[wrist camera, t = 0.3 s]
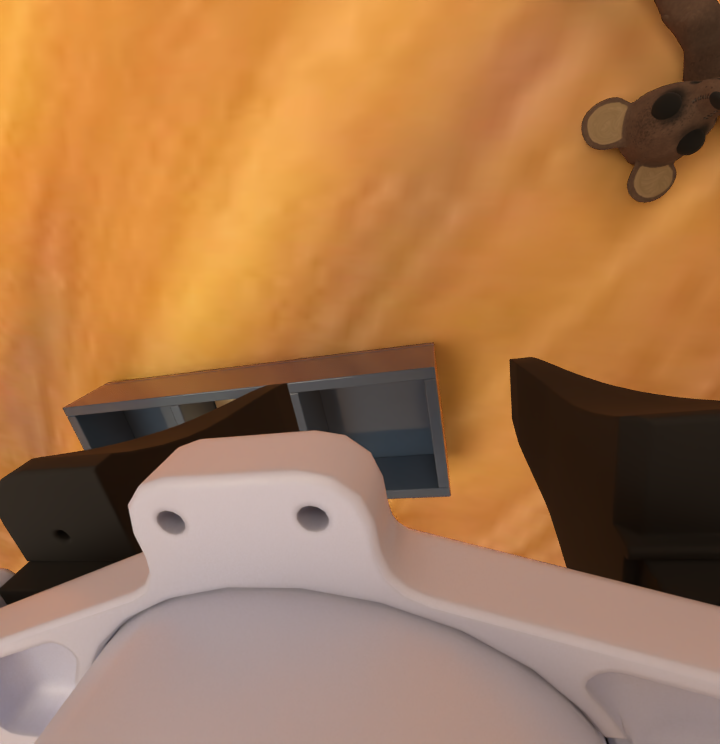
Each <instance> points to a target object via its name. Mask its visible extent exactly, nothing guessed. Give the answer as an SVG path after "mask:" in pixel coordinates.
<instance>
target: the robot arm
mask: <svg viewBox="0 0 720 744" xmlns="http://www.w3.org/2000/svg"><path fill="white" fill-rule="evenodd" d="M510 382H511V404H512V420H513V424H514V428H515V432H516V435H517V439H518V442H519V445H520V447H521V450H522V452H523V454H524V456H525V459H526V461H527V463H528V465H529V467H530V470H531V472H532V474H533V476H534V478H535V480H536V483H537V485H538V487H539V489H540V491H541V493H542V496H543V498H544V500H545V502H546V505H547V508H548V510H549V513H550V515H551V518H552V522H553V525H554V528H555V531H556V534H557V537H558V540H559V544H560V547H561V550H562V553H563V557H564V560H565V563H566V567H567V568H565V567H561V566H557V565H553V564H549V563H545V562H541V561H537V560H533V559H529V558H525V557H521V556H517V555H513V554H509V553H505V552H501V551H497V550H493V549H489V548H485V547H481V546H477V545H473V544H469V543H465V542H461V541H457V540H453V539H449V538H445V537H441V536H437V535H433V534H429V533H425V532H421V531H417V530H413V529H410V528H407V527H405V526H404V525H402V524H400V523H399V522H398V521H397V520H396V519H395V518H394V516H393V515H392V512H391V510H390V507H389V504H388V500H387V494H386V489H385V484H384V479H383V475H382V473H381V471H380V469H379V468H378V466H377V464H376V462H375V460H374V458H373V456H372V454H371V452H369V451H368V450H367V449H365V448H364V447H362V446H361V445H359V444H358V443H356V442H355V441H353V440H352V439H350V438H349V437H348V436H346V435H342V434H335V433H329V432H323V431H316V430H313V431H300V430H299V427H298V423H297V419H296V415H295V412H294V408H293V404H292V400H291V397H290V393H289V389H288V385H287V383H281V384H272V385H267V386H264V387H261V388H258V389H256V390H254V391H252V392H249V393H247V394H245V395H243V396H241V397H239V398H237V399H235V400H233V401H231V402H229V403H227V404H225V405H223V406H221V407H219V408H216V409H214V410H212V411H210V412H208V413H206V414H203V415H201V416H199V417H197V418H195V419H192V420H190V421H187V422H185V423H182V424H179V425H177V426H174V427H171V428H169V429H166V430H163V431H160V432H156V433H153V434H150V435H146V436H143V437H140V438H136V439H133V440H129V441H125V442H121V443H117V444H113V445H108V446H104V447H99V448H94V449H89V450H84V451H78V452H72V453H65V454H59V455H53V456H46V457H39V458H34V459H31V460H29V461H28V462H26V463H25V464H23V465H22V466H20V467H19V468H17V469H16V470H14V471H13V472H11V473H10V474H8V475H7V476H5V477H4V478H2V479H1V480H0V518H1V520H2V522H3V524H4V526H5V527H6V529H7V530H8V532H9V533H10V535H11V536H12V538H13V540H14V541H15V543H16V544H17V546H18V547H19V549H20V550H21V552H22V554H23V555H24V557H25V558H26V560H27V561H30V562H28V563H27V564H26V565H25V566H24V567H23V568H22V569H21V570H19V571H18V572H17V573H16V574H15V573H13V572H12V571H10V570H8V569H4V568H0V744H720V401H716V400H701V399H690V398H680V397H672V396H665V395H658V394H651V393H645V392H640V391H634V390H630V389H626V388H621V387H617V386H613V385H609V384H605V383H602V382H599V381H596V380H593V379H590V378H586V377H583V376H581V375H578V374H575V373H573V372H570V371H567V370H565V369H562V368H560V367H557V366H555V365H553V364H550V363H548V362H545V361H543V360H540V359H537V358H533V357H528V358H518V359H510Z"/></svg>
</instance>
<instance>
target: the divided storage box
mask: <svg viewBox="0 0 720 744" xmlns="http://www.w3.org/2000/svg"><path fill="white" fill-rule="evenodd" d="M281 383H287V385H288V389H289V393H290V397H291V400H292V404H293V408H294V412H295V415H296V419H297V423H298V427H299V430H300V431H313V430H316V431H323V432H329V433H335V434H342V435H346V436H348V437H349V438H350V439H352V440H353V441H355V442H356V443H358V444H359V445H361V446H362V447H364V448H365V449H367V450H368V451H369V452H371V454H372V456H373V458H374V460H375V462H376V464H377V466H378V468H379V469H380V471H381V473H382V475H383V479H384V484H385V489H386V494H387V499H397V498H422V497H447V496H451V492H450V479H449V466H448V454H447V446H446V438H445V430H444V422H443V413H442V405H441V397H440V389H439V381H438V372H437V364H436V356H435V348H434V343H425V344H416V345H408V346H400V347H392V348H384V349H376V350H368V351H360V352H352V353H344V354H335V355H327V356H319V357H311V358H303V359H295V360H287V361H279V362H271V363H263V364H255V365H246V366H238V367H230V368H222V369H214V370H206V371H198V372H190V373H182V374H174V375H166V376H157V377H149V378H141V379H133V380H125V381H117V382H109V383H106V384H105V385H103V386H101V387H99V388H98V389H96V390H94V391H92V392H90V393H89V394H87V395H85V396H83V397H81V398H80V399H78V400H76V401H74V402H73V403H71V404H69V405H67V406H65V407H64V408H63V410H64V412H65V414H66V416H68V419H69V421H70V423H71V425H72V427H73V429H74V431H75V433H76V435H77V437H78V439H79V441H80V443H81V445H82V447H83V449H84V450H89V449H94V448H99V447H104V446H108V445H113V444H117V443H121V442H125V441H129V440H133V439H136V438H140V437H143V436H146V435H150V434H153V433H156V432H160V431H163V430H166V429H169V428H171V427H174V426H177V425H179V424H182V423H185V422H187V421H190V420H192V419H195V418H197V417H199V416H201V415H203V414H206V413H208V412H210V411H212V410H214V409H216V408H219V407H221V406H223V405H225V404H227V403H229V402H231V401H233V400H235V399H237V398H239V397H241V396H243V395H245V394H247V393H249V392H252V391H254V390H256V389H258V388H261V387H264V386H267V385H272V384H281Z"/></svg>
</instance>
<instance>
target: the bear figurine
mask: <svg viewBox="0 0 720 744" xmlns="http://www.w3.org/2000/svg"><path fill="white" fill-rule="evenodd" d="M654 2H655V3H656V5H657V7H658V10H659V12H660V14H661V17H662V21H663V22H664V23H665V25H666V26H667V27H668V28H669V29H670V30H671V32H672V33H673V34H674V35H675V37H676V38H677V40H678V42H679V43H680V45H681V47H682V48H683V50H684V68H683V82H677V83H673V84H669V85H665V86H662V87H660V88H657V89H655V90H653V91H650V92H648V93H646V94H645V95H643V96H641V97H640V98H639V99H637V100H636V101H635V102H632V103H630V102H627V101H625V100H623V99H622V98H618V97H616V98H609V99H606V100H603V101H601V102H599V103H598V104H596V105H595V106H593V107H592V108H591V109H590V110H589V111H588V112H587V113H586V115H585V117H584V118H583V121H582V135H583V138H584V140H585V141H586V143H587V144H588V145H589V146H590V147H592V148H594V149H599V150H607V149H613V148H618V149H619V151H620V153H621V154H622V155H623V157H624V158H625V159H626V160H627V162H629V163H630V164H633V165H635V166H634V168H633V170H632V172H631V174H630V176H629V179H628V183H627V189H628V192H629V194H630V196H631V197H632V198H633V199H635V200H636V201H639V202H644V203H645V202H651V201H654V200H656V199H658V198H660V197H661V196H663V195H664V194H665V193H666V192H667V191H668V190H669V189H670V187H671V186H672V184H673V183H674V180H675V178H676V169H675V167H674V162H675V161H676V160H677V159H679V158H681V157H682V156H683V155H690V154H693V153H695V152H697V151H698V150H699V149H700V148H701V147H702V146H703V144H704V142H705V136H706V135H707V134H708V133H709V132H710V131H711V129H712V128H713V127H714V125H715V123H716V121H717V118H718V116H720V4H719V3H718V1H717V0H654Z"/></svg>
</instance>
